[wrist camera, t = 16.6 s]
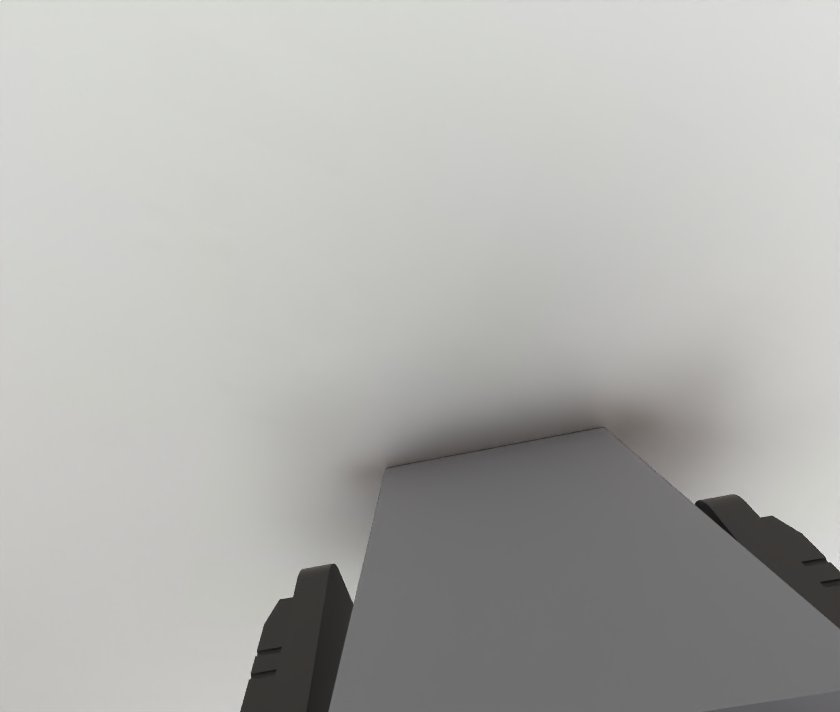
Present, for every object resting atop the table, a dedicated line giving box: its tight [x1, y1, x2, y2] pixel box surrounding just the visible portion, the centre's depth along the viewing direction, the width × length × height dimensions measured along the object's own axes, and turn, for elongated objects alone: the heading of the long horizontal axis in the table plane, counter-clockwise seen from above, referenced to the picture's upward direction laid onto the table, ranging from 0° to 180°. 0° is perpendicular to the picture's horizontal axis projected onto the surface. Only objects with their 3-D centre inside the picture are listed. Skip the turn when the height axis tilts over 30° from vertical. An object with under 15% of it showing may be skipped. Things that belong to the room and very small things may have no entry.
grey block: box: [328, 427, 840, 712], centre depth 10 cm, size 7×7×9 cm
